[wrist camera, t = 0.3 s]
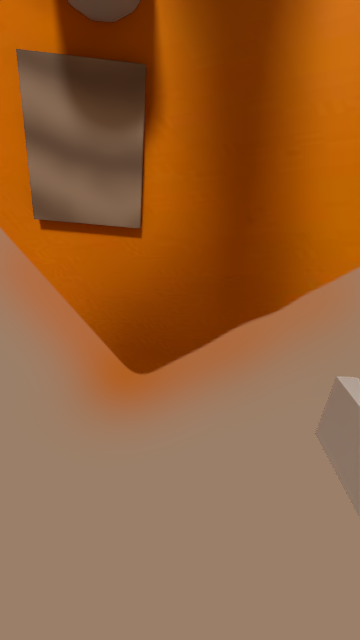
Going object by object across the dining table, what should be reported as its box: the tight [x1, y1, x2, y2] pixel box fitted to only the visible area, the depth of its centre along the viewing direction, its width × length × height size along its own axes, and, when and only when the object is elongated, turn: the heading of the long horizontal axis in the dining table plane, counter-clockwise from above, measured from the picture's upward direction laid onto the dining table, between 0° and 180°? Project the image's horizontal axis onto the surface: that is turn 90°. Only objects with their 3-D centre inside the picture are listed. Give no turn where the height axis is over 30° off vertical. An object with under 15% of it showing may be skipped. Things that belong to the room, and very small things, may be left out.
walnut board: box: [16, 49, 147, 228], centre depth 31 cm, size 14×11×1 cm
